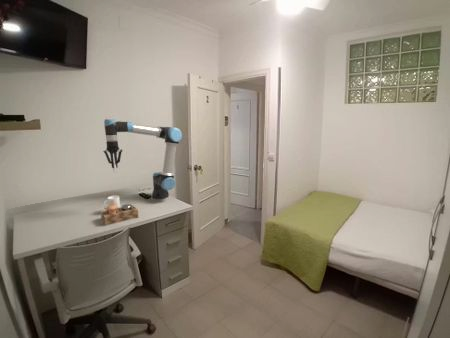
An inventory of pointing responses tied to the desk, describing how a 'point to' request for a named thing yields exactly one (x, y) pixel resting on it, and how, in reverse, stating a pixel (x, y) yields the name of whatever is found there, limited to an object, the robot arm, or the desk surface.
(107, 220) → the block
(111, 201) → the mug
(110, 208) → the peach ball
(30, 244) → the desk surface
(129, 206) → the ball grey
